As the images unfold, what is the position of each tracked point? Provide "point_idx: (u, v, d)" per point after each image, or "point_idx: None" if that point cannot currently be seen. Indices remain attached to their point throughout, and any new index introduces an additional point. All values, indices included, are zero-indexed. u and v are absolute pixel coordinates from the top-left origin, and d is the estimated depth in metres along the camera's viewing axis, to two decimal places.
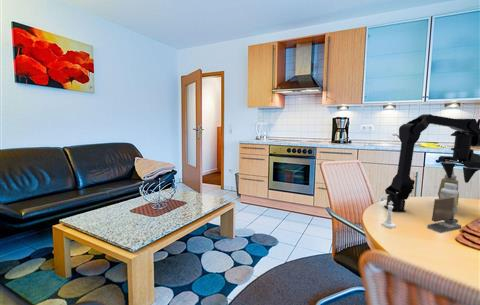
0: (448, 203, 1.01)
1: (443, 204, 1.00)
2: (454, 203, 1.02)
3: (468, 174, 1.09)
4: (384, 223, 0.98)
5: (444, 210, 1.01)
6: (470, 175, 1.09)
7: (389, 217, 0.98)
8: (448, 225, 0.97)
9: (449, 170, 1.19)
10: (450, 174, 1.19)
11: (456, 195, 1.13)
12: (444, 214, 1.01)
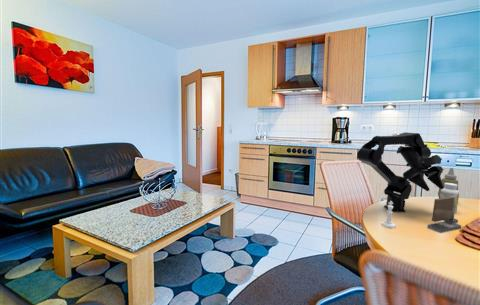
0: (448, 203, 1.01)
1: (443, 204, 1.00)
2: (454, 203, 1.02)
3: (419, 183, 1.05)
4: (384, 223, 0.98)
5: (444, 210, 1.01)
6: (421, 183, 1.04)
7: (389, 217, 0.98)
8: (448, 225, 0.97)
9: (436, 181, 1.09)
10: (439, 185, 1.07)
11: (456, 195, 1.13)
12: (444, 214, 1.01)
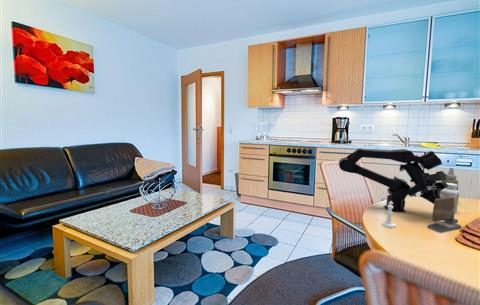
0: (448, 203, 1.01)
1: (443, 204, 1.00)
2: (454, 203, 1.02)
3: (431, 199, 1.04)
4: (384, 223, 0.98)
5: (444, 210, 1.01)
6: (434, 199, 1.03)
7: (389, 217, 0.98)
8: (448, 225, 0.97)
9: (434, 199, 1.05)
10: None
11: (456, 195, 1.13)
12: (444, 214, 1.01)
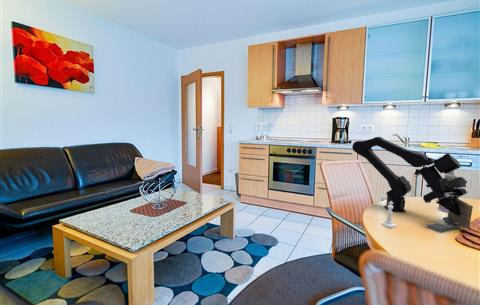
0: None
1: None
2: None
3: (449, 206, 0.98)
4: (384, 223, 0.98)
5: None
6: (451, 207, 0.97)
7: (389, 217, 0.97)
8: (448, 225, 0.97)
9: None
10: None
11: None
12: None
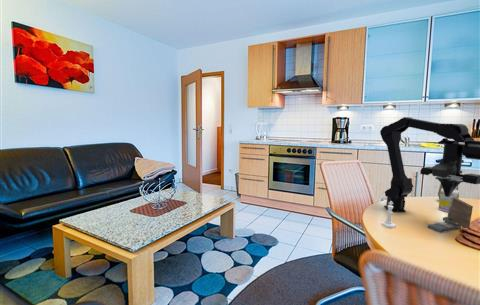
0: None
1: None
2: None
3: None
4: (384, 223, 0.98)
5: None
6: None
7: (389, 217, 0.97)
8: (448, 225, 0.97)
9: None
10: None
11: (456, 195, 1.13)
12: None
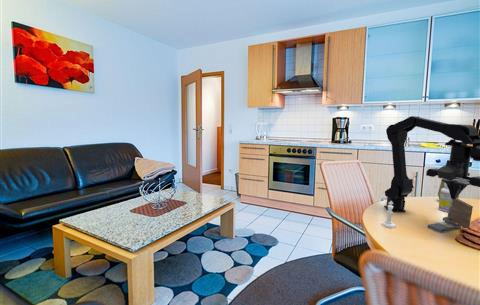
0: None
1: None
2: None
3: None
4: (384, 223, 0.98)
5: None
6: None
7: (389, 217, 0.98)
8: (448, 225, 0.97)
9: None
10: None
11: None
12: None
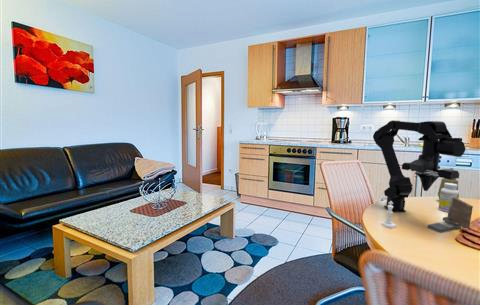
0: None
1: None
2: None
3: None
4: (384, 223, 0.98)
5: None
6: None
7: (389, 217, 0.98)
8: (448, 225, 0.97)
9: None
10: None
11: (456, 195, 1.13)
12: None
